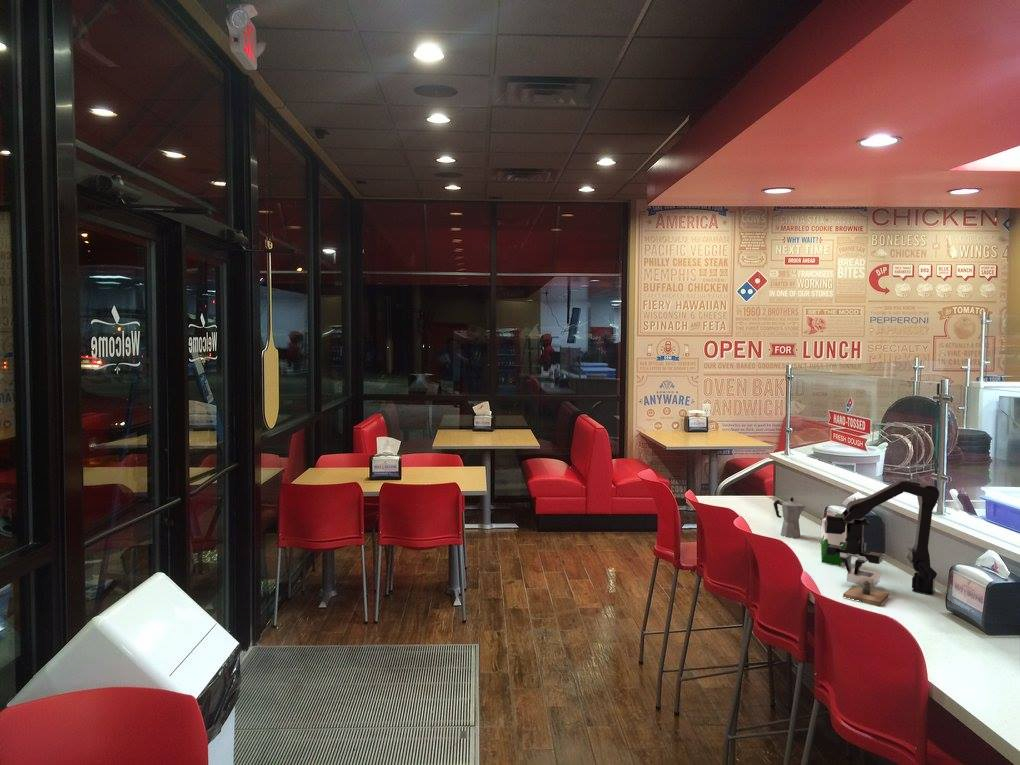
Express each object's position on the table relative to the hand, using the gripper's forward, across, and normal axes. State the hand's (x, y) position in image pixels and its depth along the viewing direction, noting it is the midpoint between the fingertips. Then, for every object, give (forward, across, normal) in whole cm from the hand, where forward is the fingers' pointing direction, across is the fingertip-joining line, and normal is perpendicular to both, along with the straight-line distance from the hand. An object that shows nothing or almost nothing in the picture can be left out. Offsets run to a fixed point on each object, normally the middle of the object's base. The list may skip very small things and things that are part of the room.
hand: (852, 576), depth 272 cm
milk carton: (+3, +14, -24) cm, 28 cm away
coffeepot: (+3, +43, -54) cm, 69 cm away
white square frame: (+1, -4, 0) cm, 4 cm away
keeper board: (+3, -8, +12) cm, 15 cm away
